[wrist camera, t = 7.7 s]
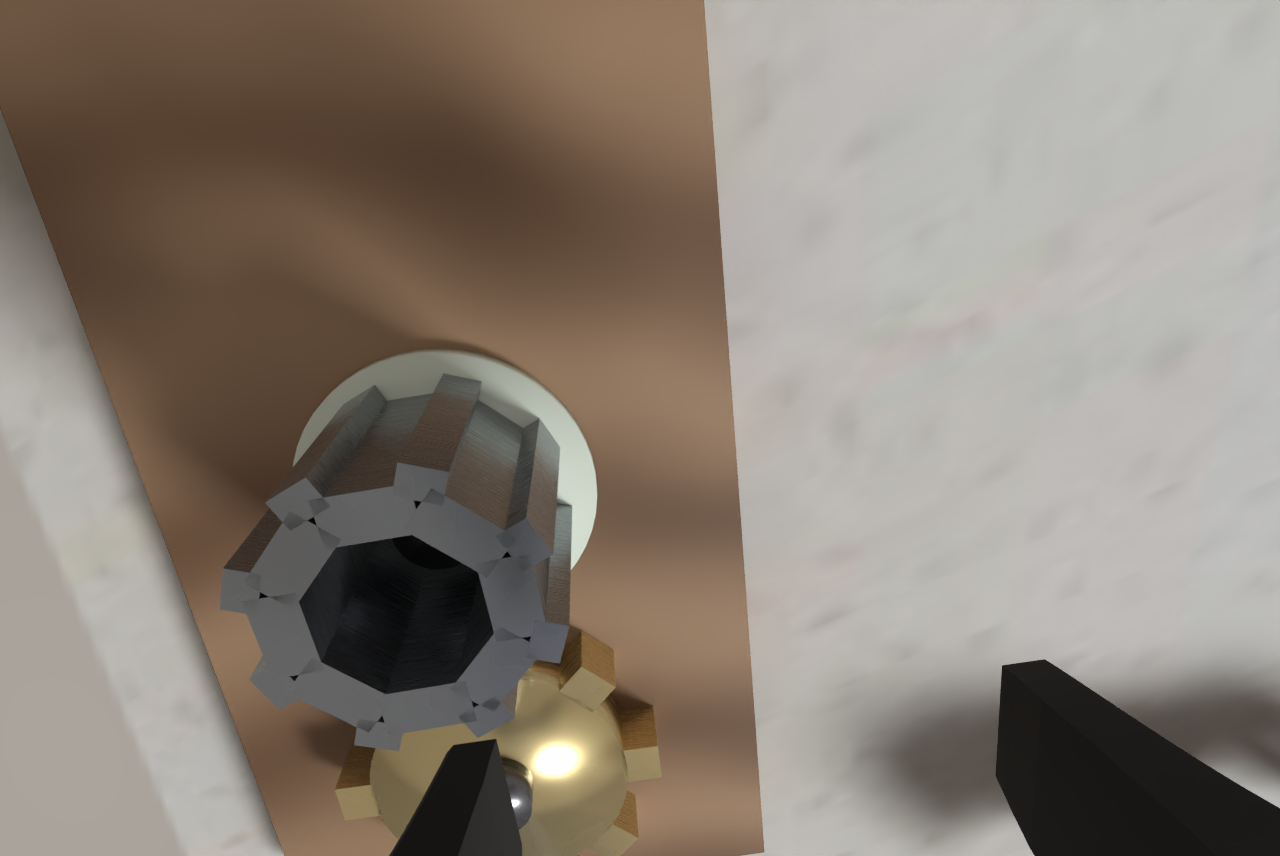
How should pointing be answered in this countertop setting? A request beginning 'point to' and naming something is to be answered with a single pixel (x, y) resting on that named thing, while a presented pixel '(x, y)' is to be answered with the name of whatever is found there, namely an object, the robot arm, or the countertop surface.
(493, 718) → the grey gear
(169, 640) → the countertop surface
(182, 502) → the gear board
